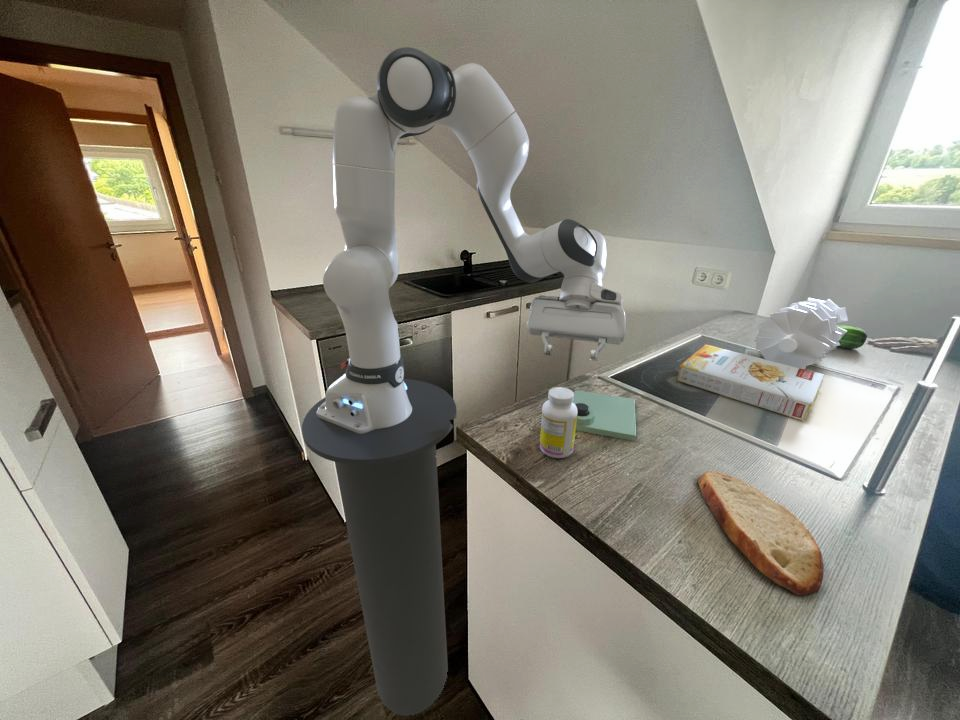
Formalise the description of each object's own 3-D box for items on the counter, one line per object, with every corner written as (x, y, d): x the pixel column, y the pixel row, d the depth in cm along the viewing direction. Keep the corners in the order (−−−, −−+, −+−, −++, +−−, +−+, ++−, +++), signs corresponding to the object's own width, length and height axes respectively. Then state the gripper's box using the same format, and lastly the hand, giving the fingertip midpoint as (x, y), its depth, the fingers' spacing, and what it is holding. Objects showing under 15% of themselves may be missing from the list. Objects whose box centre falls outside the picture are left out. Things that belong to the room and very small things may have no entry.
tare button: (573, 415, 84) (573, 408, 83) (574, 408, 86) (575, 402, 86) (587, 418, 83) (588, 411, 82) (588, 411, 85) (589, 404, 85)
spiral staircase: (757, 377, 116) (785, 353, 130) (834, 373, 101) (856, 346, 115) (742, 319, 114) (772, 300, 128) (818, 306, 99) (843, 287, 113)
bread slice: (703, 472, 71) (708, 455, 69) (829, 526, 60) (838, 508, 58) (666, 528, 59) (671, 510, 58) (815, 610, 48) (826, 590, 46)
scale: (564, 428, 84) (565, 416, 83) (572, 394, 98) (574, 383, 97) (634, 441, 80) (637, 429, 78) (633, 404, 94) (635, 393, 92)
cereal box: (704, 342, 115) (826, 371, 97) (700, 359, 117) (818, 391, 99) (679, 364, 102) (815, 402, 84) (675, 382, 104) (806, 423, 86)
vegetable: (871, 327, 120) (792, 314, 133) (862, 349, 120) (784, 333, 134) (869, 332, 125) (793, 319, 139) (860, 353, 126) (785, 338, 139)
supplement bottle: (560, 436, 81) (566, 382, 76) (579, 454, 76) (587, 397, 70) (533, 443, 79) (536, 388, 74) (550, 463, 73) (556, 404, 68)
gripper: (531, 287, 85) (518, 344, 80) (630, 295, 79) (622, 357, 74) (534, 302, 90) (522, 356, 86) (626, 310, 84) (619, 368, 80)
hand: (570, 356), depth 80 cm, fingers open, 8 cm apart
